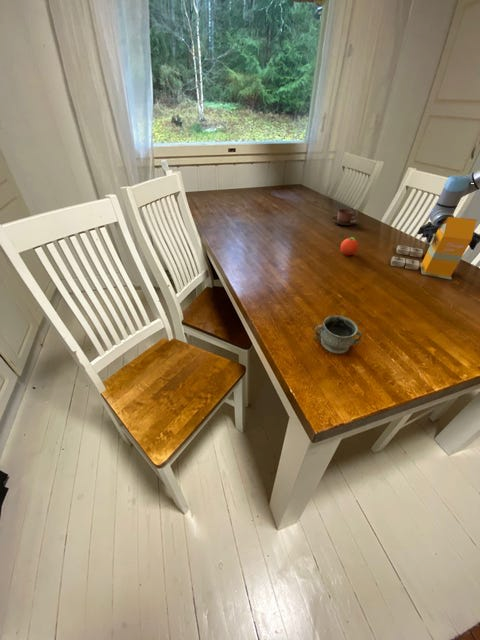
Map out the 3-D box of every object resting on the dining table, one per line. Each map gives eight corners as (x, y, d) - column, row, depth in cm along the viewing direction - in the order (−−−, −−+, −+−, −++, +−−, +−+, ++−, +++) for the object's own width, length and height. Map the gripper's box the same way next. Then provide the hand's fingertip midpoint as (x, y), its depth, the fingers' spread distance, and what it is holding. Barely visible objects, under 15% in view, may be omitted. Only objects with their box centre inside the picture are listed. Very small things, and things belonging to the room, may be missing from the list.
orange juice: (450, 277, 101) (481, 223, 89) (424, 273, 104) (450, 220, 91) (445, 267, 107) (473, 216, 95) (420, 264, 109) (445, 213, 97)
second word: (448, 268, 108) (450, 263, 106) (451, 279, 100) (454, 274, 99) (391, 257, 114) (393, 253, 113) (390, 268, 107) (392, 263, 106)
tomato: (341, 248, 121) (345, 232, 116) (357, 252, 118) (362, 236, 114) (337, 255, 115) (341, 239, 111) (354, 259, 113) (359, 242, 108)
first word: (420, 253, 118) (422, 248, 116) (421, 257, 115) (423, 253, 113) (396, 249, 121) (398, 244, 119) (396, 253, 118) (398, 248, 116)
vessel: (356, 336, 76) (363, 318, 72) (359, 359, 69) (367, 341, 65) (312, 329, 78) (316, 311, 74) (311, 350, 71) (316, 332, 67)
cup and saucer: (352, 220, 150) (355, 208, 146) (356, 227, 141) (360, 215, 137) (330, 218, 151) (333, 207, 147) (332, 226, 142) (335, 214, 138)
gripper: (474, 237, 110) (487, 259, 95) (407, 227, 118) (408, 246, 103) (485, 218, 106) (500, 238, 90) (414, 210, 113) (417, 226, 98)
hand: (451, 242), depth 97 cm, fingers open, 13 cm apart
